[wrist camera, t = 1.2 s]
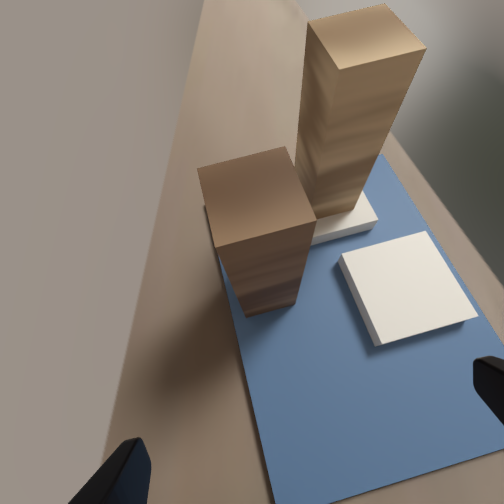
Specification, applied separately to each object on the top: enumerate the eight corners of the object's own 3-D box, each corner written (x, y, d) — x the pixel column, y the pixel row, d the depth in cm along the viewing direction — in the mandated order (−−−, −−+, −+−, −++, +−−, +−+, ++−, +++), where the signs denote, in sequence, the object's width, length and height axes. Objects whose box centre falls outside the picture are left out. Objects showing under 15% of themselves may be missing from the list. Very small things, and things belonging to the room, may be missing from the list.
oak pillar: (353, 209, 23) (426, 48, 12) (308, 221, 23) (339, 69, 12) (335, 173, 25) (384, 3, 14) (292, 184, 25) (307, 21, 14)
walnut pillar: (295, 304, 22) (316, 220, 11) (246, 318, 22) (215, 247, 10) (280, 259, 24) (285, 146, 12) (234, 271, 23) (196, 168, 12)
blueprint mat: (549, 430, 18) (581, 435, 16) (278, 514, 17) (279, 531, 15) (380, 158, 28) (388, 142, 26) (206, 203, 27) (201, 190, 26)
